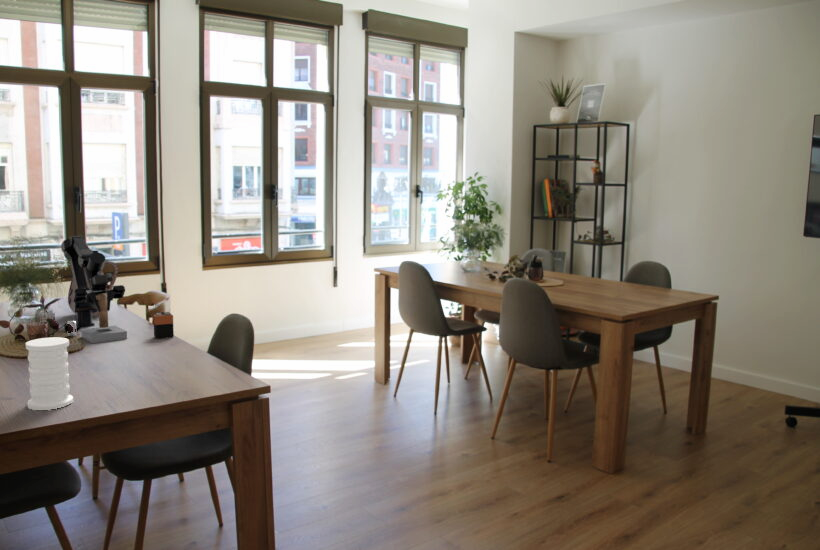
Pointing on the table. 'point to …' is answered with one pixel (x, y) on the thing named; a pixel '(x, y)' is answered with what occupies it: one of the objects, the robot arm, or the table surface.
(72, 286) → the ceramic pitcher
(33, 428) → the table surface
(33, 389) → the decorative container
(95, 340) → the hole plate
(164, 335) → the battery
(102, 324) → the walnut pin
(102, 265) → the robot arm
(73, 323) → the steel pin
